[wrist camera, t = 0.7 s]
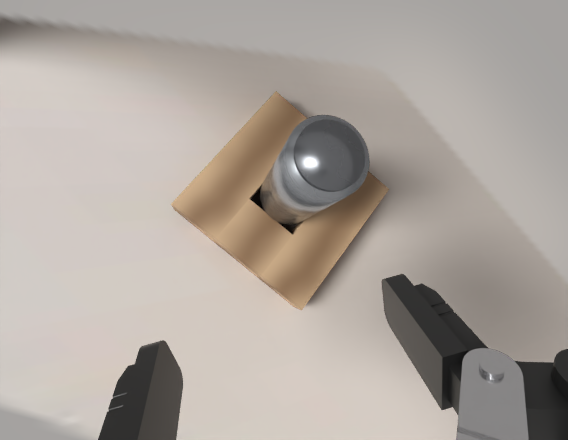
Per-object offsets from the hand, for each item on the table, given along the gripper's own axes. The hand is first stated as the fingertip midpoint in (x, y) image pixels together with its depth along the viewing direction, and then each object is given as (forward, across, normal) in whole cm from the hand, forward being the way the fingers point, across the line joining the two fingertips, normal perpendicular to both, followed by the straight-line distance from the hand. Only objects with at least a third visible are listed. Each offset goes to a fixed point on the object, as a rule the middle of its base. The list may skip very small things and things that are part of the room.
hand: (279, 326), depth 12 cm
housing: (+24, -3, +6) cm, 25 cm away
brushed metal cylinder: (+24, -3, +6) cm, 25 cm away
